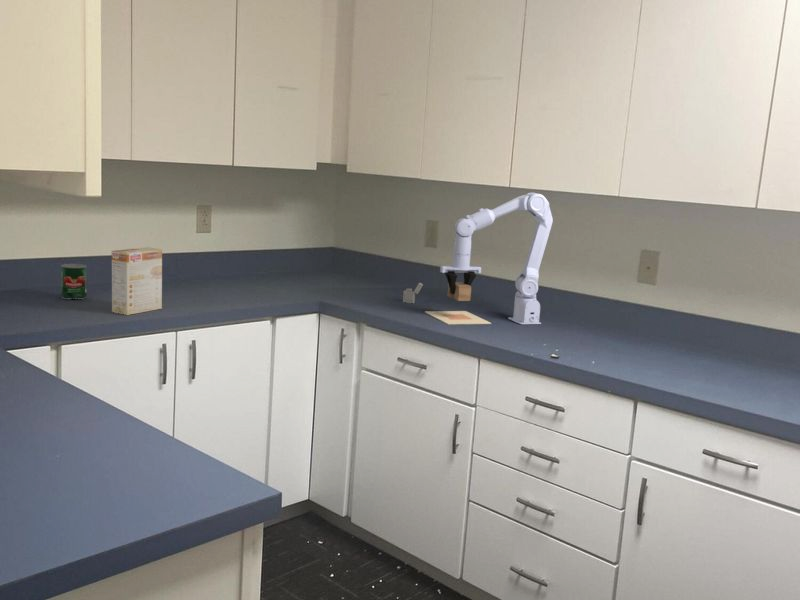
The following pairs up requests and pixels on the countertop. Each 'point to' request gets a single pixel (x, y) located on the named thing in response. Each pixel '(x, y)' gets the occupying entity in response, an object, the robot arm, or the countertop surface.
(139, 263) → the coffeecake box
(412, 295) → the lighter
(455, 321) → the mat
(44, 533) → the countertop surface
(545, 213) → the robot arm
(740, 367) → the countertop surface
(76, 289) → the canned tomato
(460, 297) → the walnut block
